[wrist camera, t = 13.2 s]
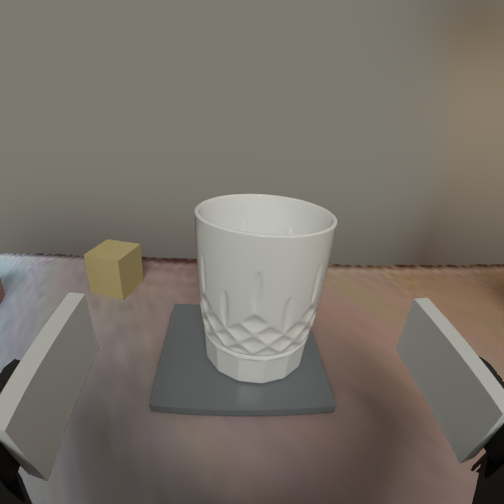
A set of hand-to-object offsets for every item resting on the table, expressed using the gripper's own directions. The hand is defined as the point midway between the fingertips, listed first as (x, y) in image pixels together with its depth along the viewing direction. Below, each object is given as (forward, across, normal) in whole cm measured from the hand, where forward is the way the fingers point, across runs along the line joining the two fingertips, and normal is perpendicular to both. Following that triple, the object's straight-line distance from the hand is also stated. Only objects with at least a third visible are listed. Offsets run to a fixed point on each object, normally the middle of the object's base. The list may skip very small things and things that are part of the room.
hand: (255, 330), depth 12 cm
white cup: (+7, +1, -8) cm, 11 cm away
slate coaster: (+8, 0, -8) cm, 11 cm away
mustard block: (+17, -12, -8) cm, 22 cm away
